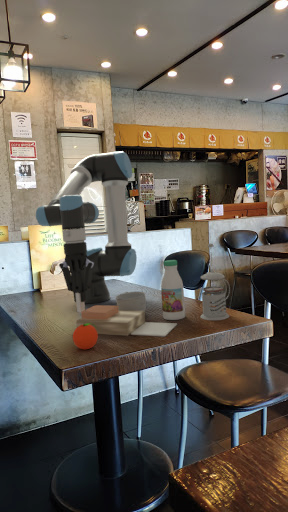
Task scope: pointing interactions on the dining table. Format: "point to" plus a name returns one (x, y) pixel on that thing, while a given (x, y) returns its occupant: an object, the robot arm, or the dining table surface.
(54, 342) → the dining table surface
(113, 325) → the block
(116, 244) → the robot arm
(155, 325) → the mat
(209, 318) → the french press
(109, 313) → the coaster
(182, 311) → the milk bottle
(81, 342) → the clementine
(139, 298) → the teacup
